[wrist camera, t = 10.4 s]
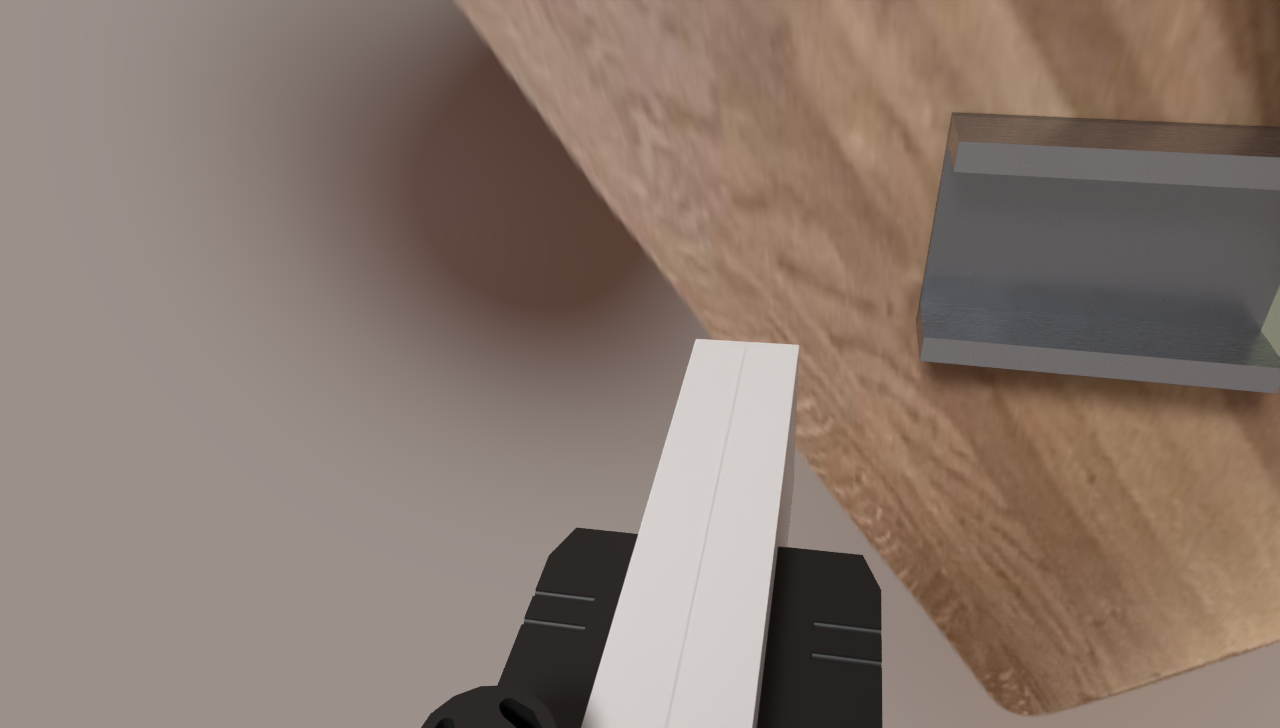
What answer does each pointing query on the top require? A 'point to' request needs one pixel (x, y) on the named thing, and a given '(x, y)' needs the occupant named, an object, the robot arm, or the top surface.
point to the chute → (1107, 251)
